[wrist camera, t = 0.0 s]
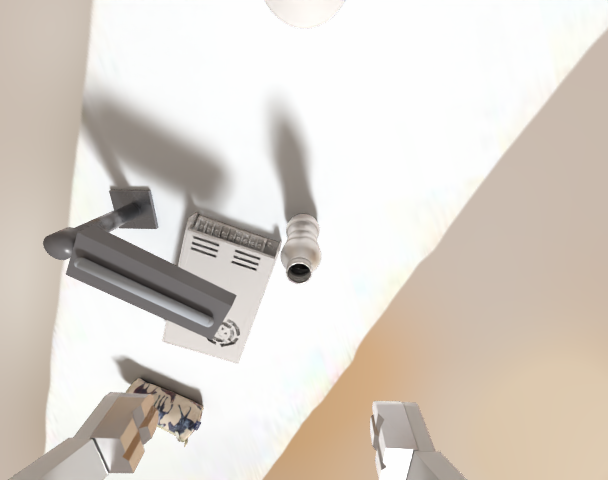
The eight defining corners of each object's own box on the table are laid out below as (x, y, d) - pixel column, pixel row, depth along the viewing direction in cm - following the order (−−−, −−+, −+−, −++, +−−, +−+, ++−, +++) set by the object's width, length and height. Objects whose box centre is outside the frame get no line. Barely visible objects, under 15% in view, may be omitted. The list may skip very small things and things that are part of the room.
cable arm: (55, 253, 44) (28, 267, 40) (66, 211, 41) (38, 222, 37) (217, 328, 49) (208, 347, 45) (236, 295, 46) (229, 312, 42)
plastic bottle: (284, 214, 58) (270, 257, 39) (316, 208, 57) (318, 249, 39) (290, 242, 60) (281, 295, 42) (321, 236, 59) (325, 288, 41)
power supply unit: (282, 240, 61) (279, 250, 56) (242, 348, 73) (238, 363, 69) (197, 210, 59) (187, 218, 54) (171, 327, 71) (161, 341, 67)
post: (111, 189, 57) (41, 213, 42) (150, 190, 57) (93, 214, 42) (121, 226, 60) (58, 261, 45) (158, 227, 60) (107, 262, 45)
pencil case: (210, 401, 81) (197, 436, 72) (198, 417, 83) (184, 452, 74) (138, 368, 76) (114, 401, 67) (127, 387, 79) (104, 421, 70)
